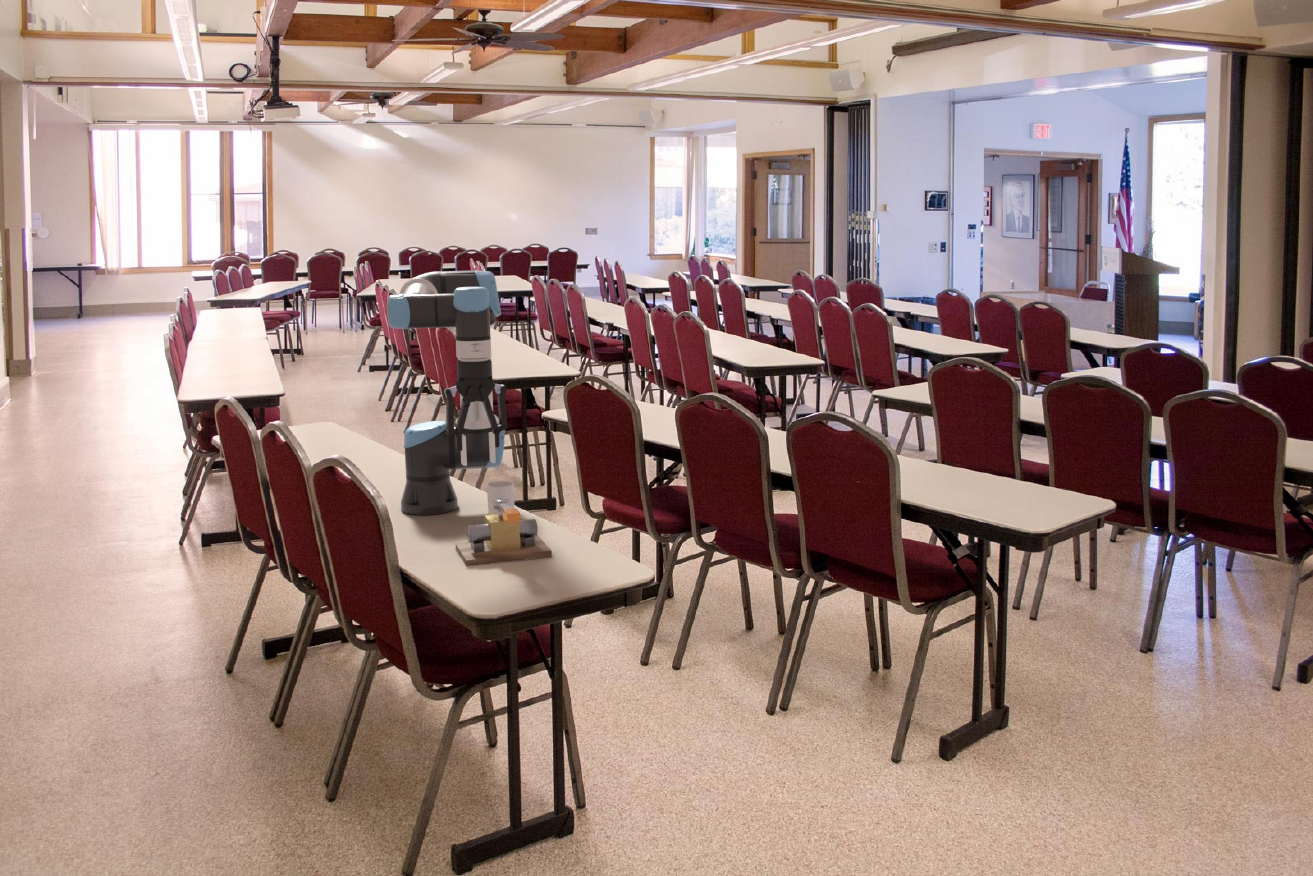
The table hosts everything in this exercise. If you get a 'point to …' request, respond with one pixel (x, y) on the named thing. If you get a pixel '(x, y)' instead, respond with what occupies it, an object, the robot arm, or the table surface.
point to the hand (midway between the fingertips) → (478, 462)
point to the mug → (499, 494)
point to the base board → (502, 553)
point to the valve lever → (507, 510)
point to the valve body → (501, 534)
